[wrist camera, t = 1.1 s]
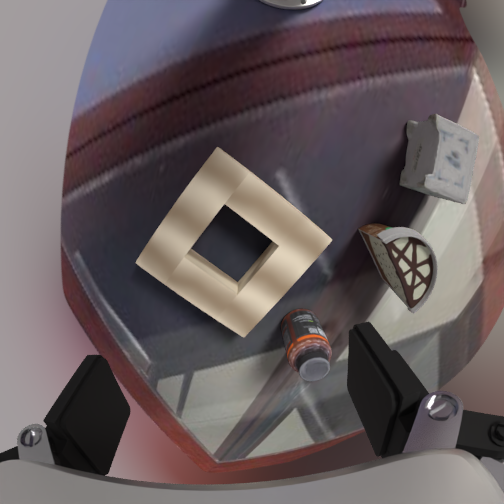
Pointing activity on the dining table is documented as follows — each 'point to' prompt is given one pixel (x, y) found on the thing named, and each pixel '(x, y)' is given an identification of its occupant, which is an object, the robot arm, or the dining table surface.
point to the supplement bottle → (306, 344)
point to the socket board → (209, 276)
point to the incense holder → (440, 158)
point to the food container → (402, 261)
